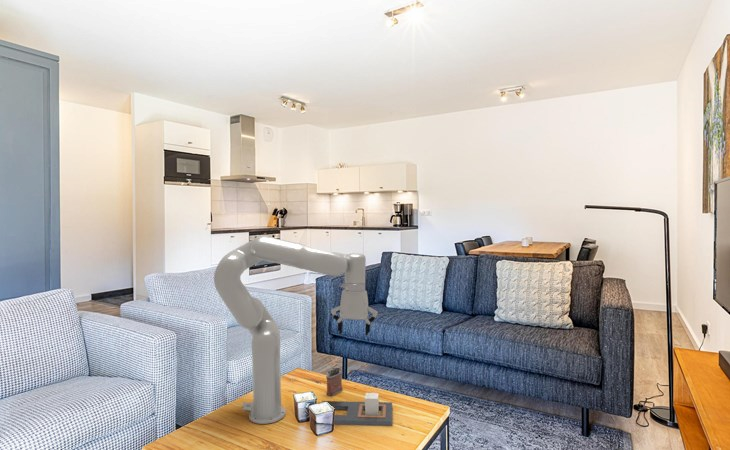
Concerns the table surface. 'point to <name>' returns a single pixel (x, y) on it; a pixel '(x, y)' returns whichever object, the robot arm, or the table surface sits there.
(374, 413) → the peg
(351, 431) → the table surface
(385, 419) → the dark grey slotted board
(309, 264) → the robot arm
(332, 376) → the reddish brown rectangular container
